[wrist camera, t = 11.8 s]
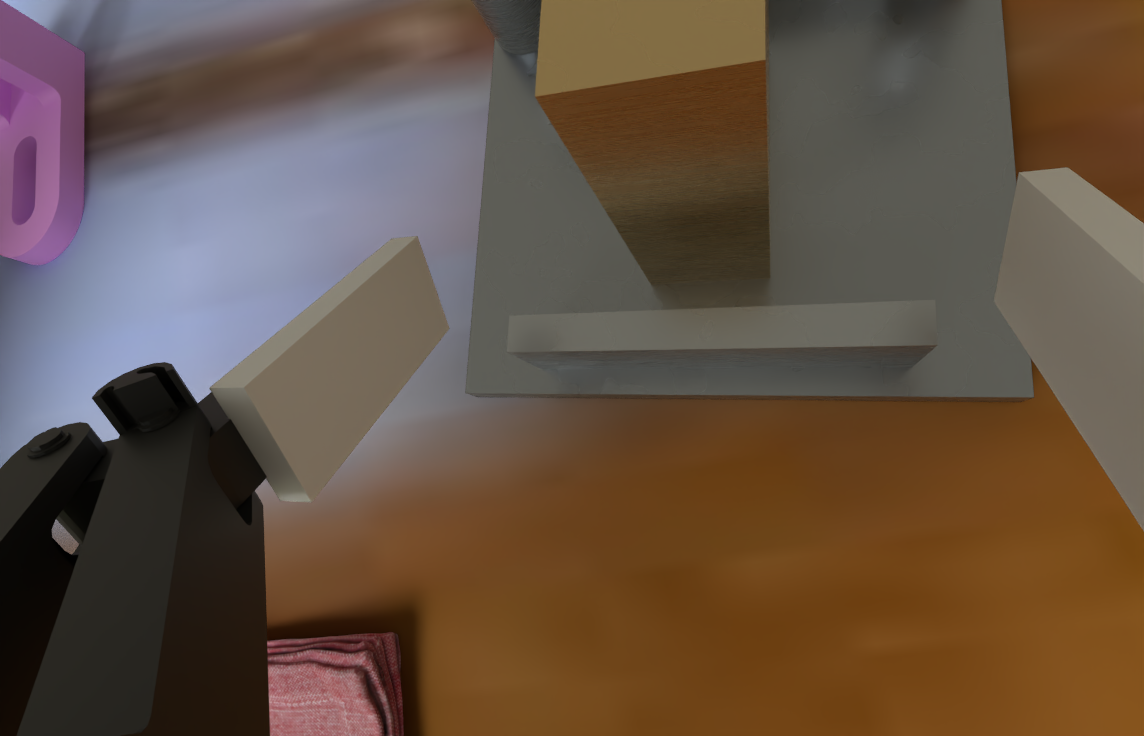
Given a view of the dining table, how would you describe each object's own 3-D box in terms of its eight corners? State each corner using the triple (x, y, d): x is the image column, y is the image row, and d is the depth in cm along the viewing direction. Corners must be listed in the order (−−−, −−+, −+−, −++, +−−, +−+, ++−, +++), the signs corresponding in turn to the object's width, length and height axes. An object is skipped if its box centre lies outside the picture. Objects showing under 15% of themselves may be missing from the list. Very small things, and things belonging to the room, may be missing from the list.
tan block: (650, 284, 21) (534, 95, 11) (658, 32, 23) (564, -333, 13) (770, 278, 20) (765, 59, 10) (769, 11, 22) (763, -412, 11)
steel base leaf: (477, 396, 24) (251, 328, 13) (507, 15, 27) (340, -280, 16) (1020, 401, 18) (1344, 290, 8) (982, -85, 21) (1180, -631, 11)
